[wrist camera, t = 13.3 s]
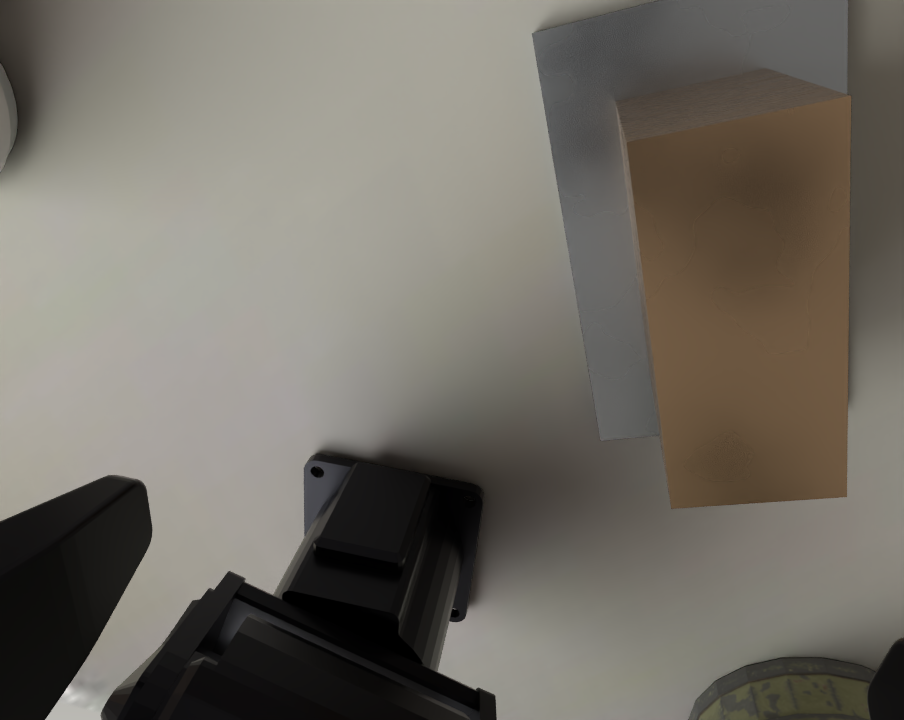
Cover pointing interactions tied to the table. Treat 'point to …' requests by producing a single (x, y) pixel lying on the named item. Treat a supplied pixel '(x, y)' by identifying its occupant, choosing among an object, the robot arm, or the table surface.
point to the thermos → (788, 692)
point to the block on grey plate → (711, 235)
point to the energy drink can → (6, 117)
